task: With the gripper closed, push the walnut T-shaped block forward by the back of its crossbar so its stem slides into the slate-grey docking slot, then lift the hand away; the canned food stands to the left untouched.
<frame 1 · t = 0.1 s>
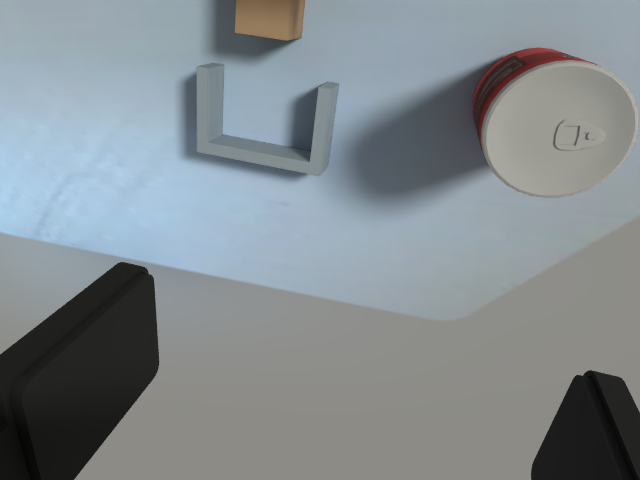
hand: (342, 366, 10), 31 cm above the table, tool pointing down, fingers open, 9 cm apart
canned food: (526, 100, 36), on the table
dock: (271, 115, 41), on the table
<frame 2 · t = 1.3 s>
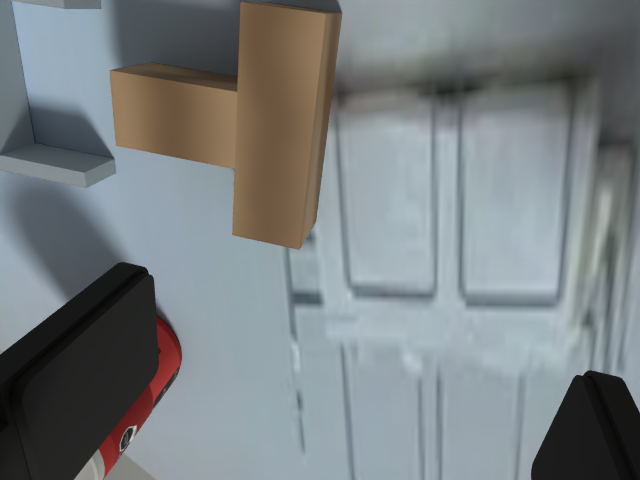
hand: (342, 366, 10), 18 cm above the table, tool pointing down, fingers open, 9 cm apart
canned food: (143, 342, 38), on the table
t block: (229, 110, 28), on the table
dock: (58, 80, 30), on the table
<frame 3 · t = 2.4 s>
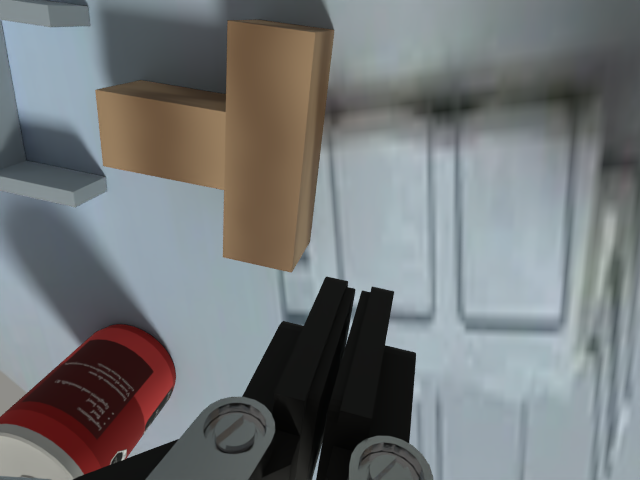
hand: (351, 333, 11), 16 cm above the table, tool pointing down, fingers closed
canned food: (137, 360, 38), on the table
t block: (220, 128, 27), on the table
dock: (48, 97, 29), on the table
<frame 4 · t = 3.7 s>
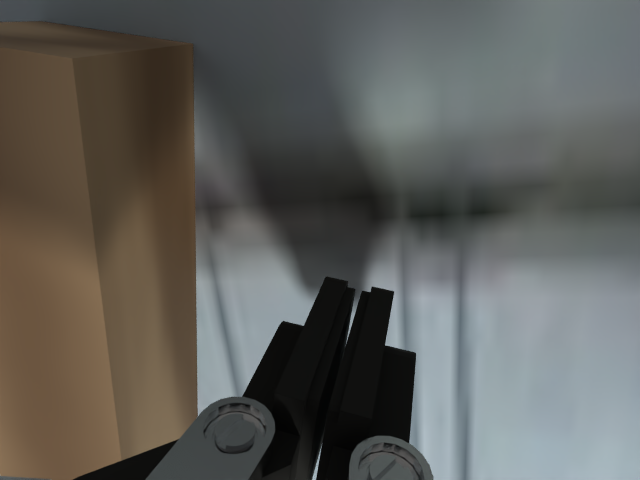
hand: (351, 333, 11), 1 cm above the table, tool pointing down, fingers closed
t block: (15, 226, 14), on the table
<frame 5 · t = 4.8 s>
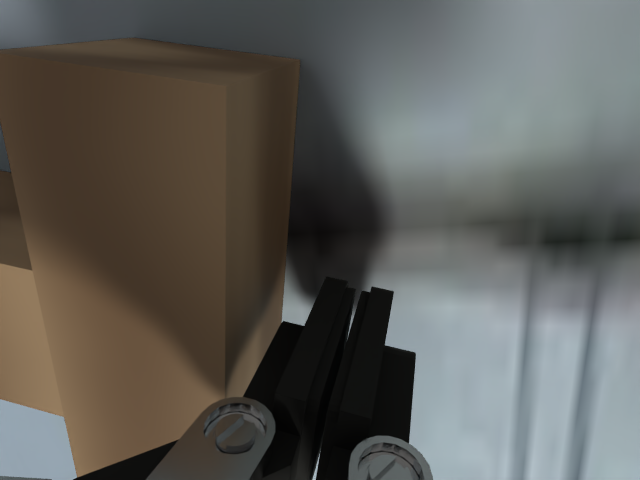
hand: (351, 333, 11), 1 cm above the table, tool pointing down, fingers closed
t block: (89, 249, 14), on the table, touching gripper
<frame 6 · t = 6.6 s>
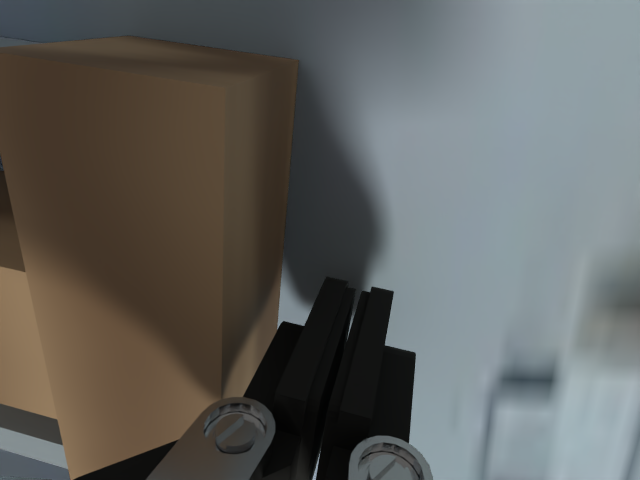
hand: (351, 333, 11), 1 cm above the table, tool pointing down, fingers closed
t block: (83, 249, 14), on the table, touching dock, gripper
dock: (7, 231, 14), on the table
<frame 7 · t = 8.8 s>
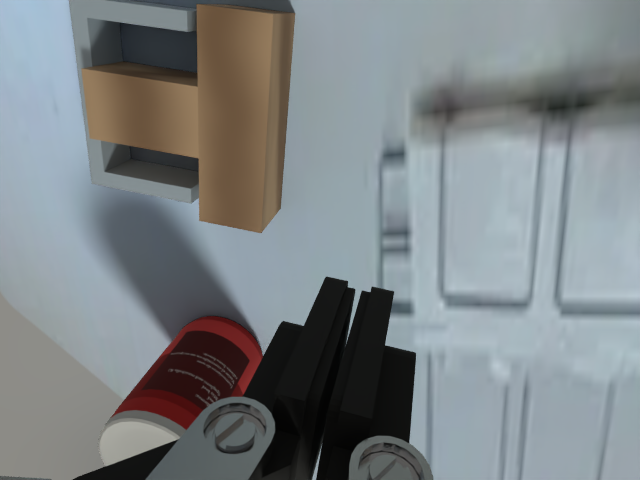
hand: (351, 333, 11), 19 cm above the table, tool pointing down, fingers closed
canned food: (223, 351, 39), on the table
t block: (196, 105, 30), on the table
dock: (160, 98, 30), on the table
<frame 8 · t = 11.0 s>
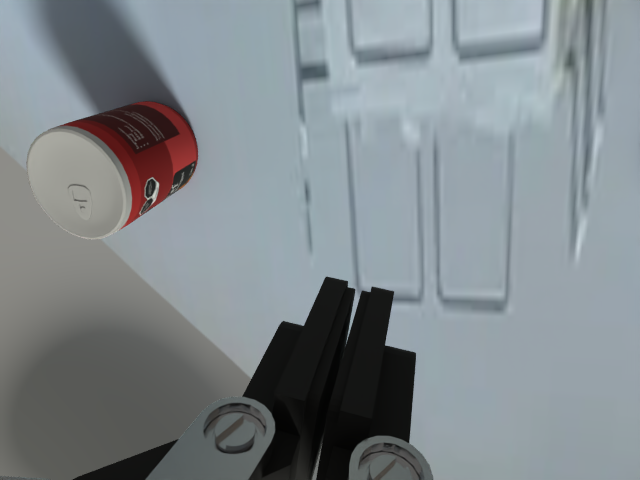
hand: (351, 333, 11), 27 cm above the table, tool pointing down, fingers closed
canned food: (162, 145, 41), on the table
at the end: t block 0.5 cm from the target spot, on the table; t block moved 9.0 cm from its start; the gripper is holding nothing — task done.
